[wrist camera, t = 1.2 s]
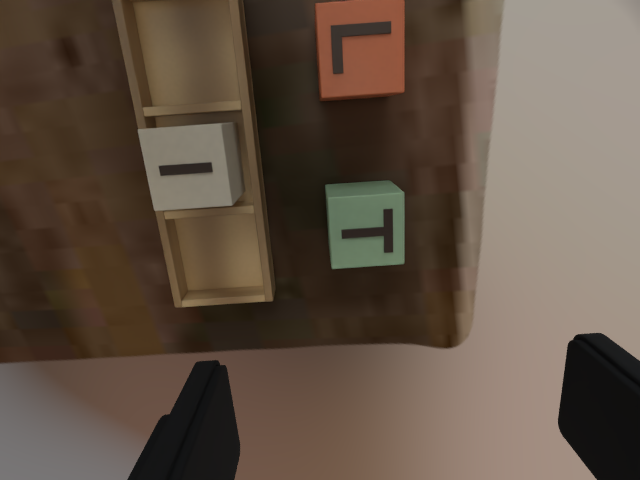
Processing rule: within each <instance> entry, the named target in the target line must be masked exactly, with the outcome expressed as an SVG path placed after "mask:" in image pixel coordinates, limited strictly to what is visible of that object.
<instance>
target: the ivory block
mask: <svg viewBox="0 0 640 480" xmlns="http://www.w3.org/2000/svg"><path fill="white" fill-rule="evenodd" d="M138 135H139V140H140V144H141V149H142V154H143V159H144V164H145V169H146V173H147V178H148V183H149V188H150V193H151V197H152V202H153V207H154V211H163V210H177V209H192V208H206V207H220V206H232V205H233V204H234V203H235V202H236V201H237V200H238V199H239V198H240V196H241V195H242V194H243V193H244V192H245V191H246V189H245V182H244V174H243V166H242V158H241V150H240V143H239V135H238V127H237V122H230V123H216V124H201V125H187V126H173V127H160V128H147V129H138Z"/></svg>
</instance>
